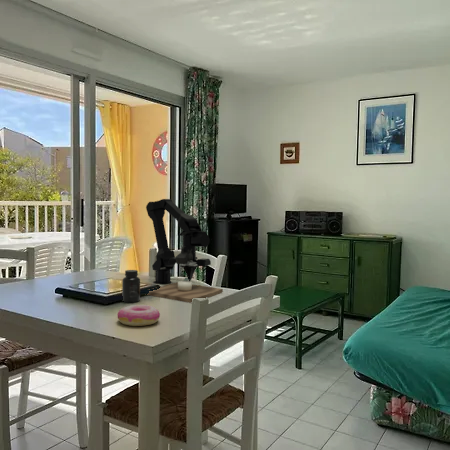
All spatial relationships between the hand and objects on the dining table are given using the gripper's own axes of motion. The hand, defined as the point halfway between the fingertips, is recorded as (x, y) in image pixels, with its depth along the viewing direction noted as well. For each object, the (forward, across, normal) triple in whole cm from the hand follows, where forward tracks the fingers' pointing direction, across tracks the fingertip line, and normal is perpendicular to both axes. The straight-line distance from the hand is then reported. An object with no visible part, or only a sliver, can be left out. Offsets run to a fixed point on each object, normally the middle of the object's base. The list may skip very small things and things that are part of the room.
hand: (189, 280), depth 202 cm
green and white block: (+2, 0, -5) cm, 5 cm away
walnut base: (+4, +2, -8) cm, 9 cm away
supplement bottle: (+4, -8, -31) cm, 32 cm away
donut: (+6, +12, -52) cm, 54 cm away
